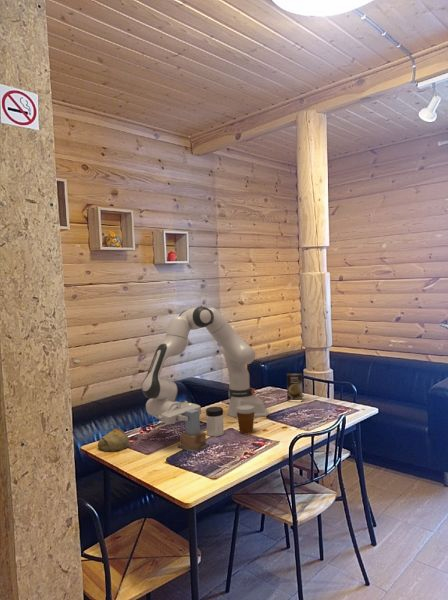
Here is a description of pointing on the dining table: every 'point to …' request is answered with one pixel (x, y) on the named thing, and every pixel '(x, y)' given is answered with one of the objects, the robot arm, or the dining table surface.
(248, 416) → the disposable coffee cup
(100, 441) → the olive brown rounded lump
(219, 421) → the jar
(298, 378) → the coffee box
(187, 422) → the pillar
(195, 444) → the plinth
